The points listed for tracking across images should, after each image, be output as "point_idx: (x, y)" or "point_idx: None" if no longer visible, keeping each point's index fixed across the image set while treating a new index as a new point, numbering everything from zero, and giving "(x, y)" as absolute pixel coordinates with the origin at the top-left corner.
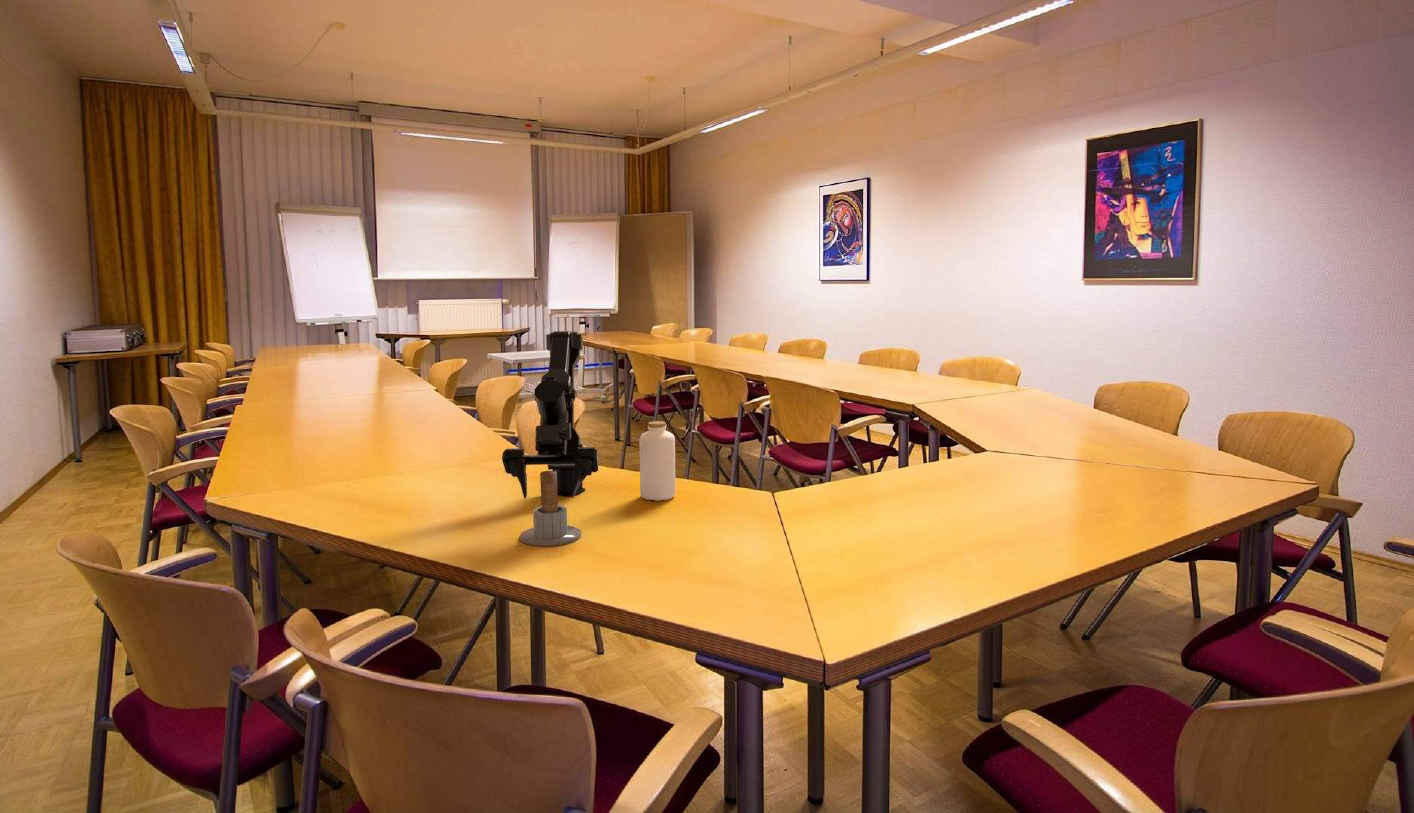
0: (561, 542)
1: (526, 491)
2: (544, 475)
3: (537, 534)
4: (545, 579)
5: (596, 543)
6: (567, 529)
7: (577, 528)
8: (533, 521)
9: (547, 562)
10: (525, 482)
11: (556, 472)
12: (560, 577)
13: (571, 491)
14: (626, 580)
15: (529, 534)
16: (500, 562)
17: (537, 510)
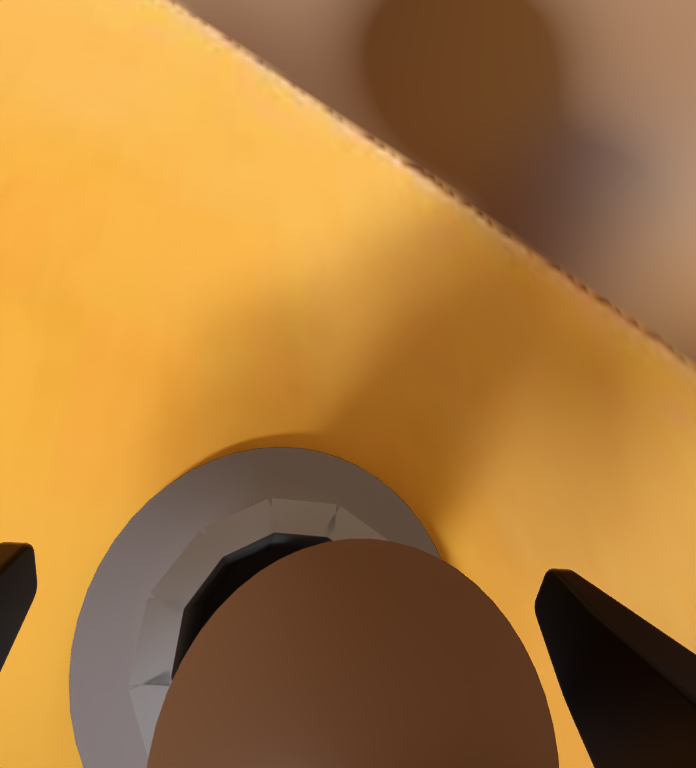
0: (218, 459)
1: (579, 659)
2: (424, 555)
3: None
4: (285, 133)
5: (17, 462)
6: None
7: (84, 753)
8: None
9: (284, 263)
10: (682, 711)
11: (151, 758)
12: (236, 134)
13: (3, 560)
14: (9, 59)
15: None
16: (462, 301)
17: None
